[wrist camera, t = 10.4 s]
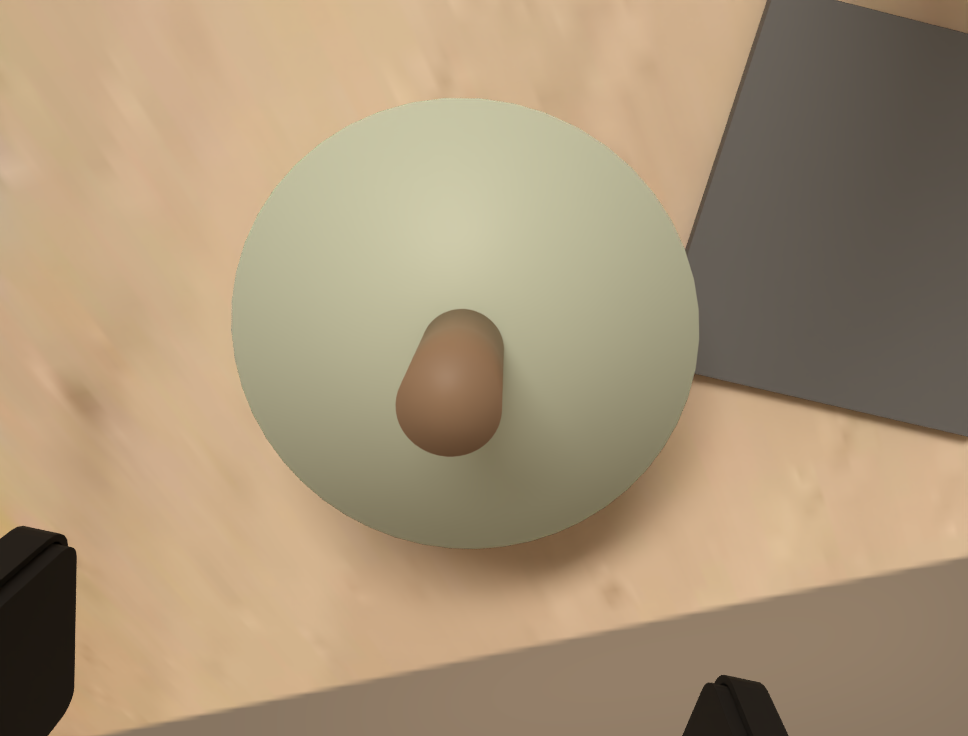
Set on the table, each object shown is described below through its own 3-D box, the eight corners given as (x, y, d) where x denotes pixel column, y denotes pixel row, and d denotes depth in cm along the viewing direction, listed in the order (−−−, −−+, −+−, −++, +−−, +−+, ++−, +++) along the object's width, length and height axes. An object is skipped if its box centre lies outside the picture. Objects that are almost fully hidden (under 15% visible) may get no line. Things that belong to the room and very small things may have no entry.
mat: (1147, 84, 28) (1161, 82, 28) (967, 433, 34) (974, 438, 33) (771, -12, 28) (776, -15, 27) (649, 360, 33) (651, 363, 33)
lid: (759, 159, 23) (853, 165, 17) (622, 573, 29) (653, 694, 23) (261, 48, 23) (163, 10, 16) (222, 493, 29) (139, 593, 22)
